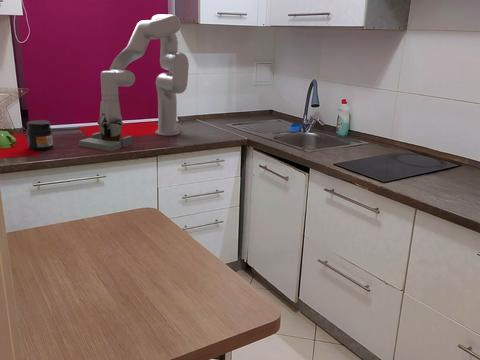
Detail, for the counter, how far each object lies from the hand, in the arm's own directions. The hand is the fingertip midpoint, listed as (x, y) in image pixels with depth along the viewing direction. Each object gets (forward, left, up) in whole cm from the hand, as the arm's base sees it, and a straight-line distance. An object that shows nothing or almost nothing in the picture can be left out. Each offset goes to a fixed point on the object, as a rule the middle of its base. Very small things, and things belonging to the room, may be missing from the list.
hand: (111, 135), depth 227 cm
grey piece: (+5, 0, -4) cm, 6 cm away
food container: (-1, 0, -3) cm, 3 cm away
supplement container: (+25, -20, -4) cm, 32 cm away
